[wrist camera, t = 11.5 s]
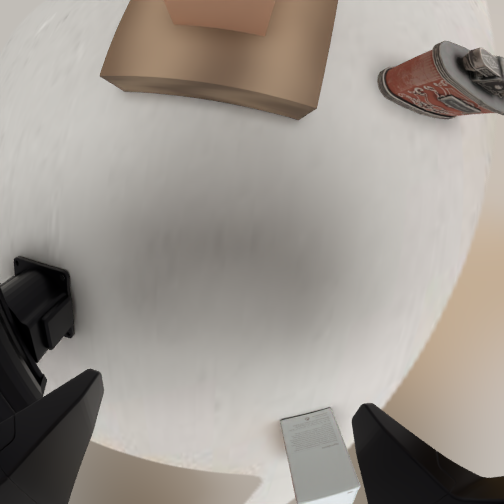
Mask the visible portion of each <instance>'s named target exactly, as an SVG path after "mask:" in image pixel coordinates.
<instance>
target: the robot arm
mask: <svg viewBox="0 0 504 504" xmlns="http://www.w3.org/2000/svg"><path fill="white" fill-rule="evenodd" d="M18 262H19V263H18ZM14 269H15V276H13V277H12V278H10V279H9V280H7V281H6V282H4V283H3V284H1V285H0V504H68V502H69V499H70V495H71V492H72V489H73V486H74V483H75V480H76V477H77V474H78V471H79V468H80V465H81V463H82V460H83V457H84V454H85V452H86V449H87V446H88V444H89V441H90V439H91V436H92V433H93V430H94V427H95V423H96V419H97V415H98V412H99V408H100V404H101V401H102V397H103V393H104V387H103V381H102V375H101V373H100V372H99V371H96V370H93V369H87V370H86V371H84V372H83V373H81V374H79V375H78V376H76V377H75V378H73V379H71V380H70V381H68V382H67V383H65V384H63V385H62V386H60V387H59V388H57V389H55V390H54V391H52V392H51V393H49V394H47V395H46V396H44V397H43V394H44V390H45V386H46V383H47V379H46V377H45V376H44V374H42V372H41V371H40V369H39V367H38V366H37V364H36V363H38V362H39V360H40V359H41V358H42V356H43V355H44V354H45V353H46V351H47V350H48V349H49V350H52V349H53V348H54V347H55V346H56V345H57V344H58V342H59V341H60V340H61V339H62V337H63V336H65V337H67V338H72V337H73V335H74V326H73V324H74V320H73V310H72V300H71V297H70V282H69V274H68V272H67V271H65V270H62V269H59V268H55V267H52V266H49V265H45V264H42V263H39V262H36V261H32V260H29V259H26V258H23V257H20V256H18V257H16V258H15V259H14ZM62 275H63V276H64V278H65V279H64V278H63V277H62ZM352 428H353V434H354V441H355V449H356V454H357V459H358V463H359V467H360V471H361V476H362V479H363V484H364V488H365V492H366V497H367V501H368V504H504V476H501V477H493V478H486V477H481V476H479V475H476V474H475V473H473V472H471V471H468V470H467V469H465V468H463V467H461V466H459V465H458V464H456V463H454V462H453V461H451V460H449V459H448V458H446V457H445V456H443V455H442V454H441V453H439V452H437V451H436V450H435V449H433V448H432V447H430V446H429V445H428V444H426V443H425V442H424V441H422V440H421V439H419V438H418V437H417V436H415V435H414V434H413V433H411V432H410V431H409V430H407V429H406V428H405V427H403V426H402V425H401V424H399V423H398V422H397V421H395V420H394V419H393V418H391V417H390V416H389V415H387V414H386V413H385V412H384V411H382V410H381V409H380V408H378V407H377V406H376V405H374V404H373V403H365V404H362V405H361V406H360V407H359V409H358V410H357V412H356V413H355V415H354V416H353V418H352Z"/></svg>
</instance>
